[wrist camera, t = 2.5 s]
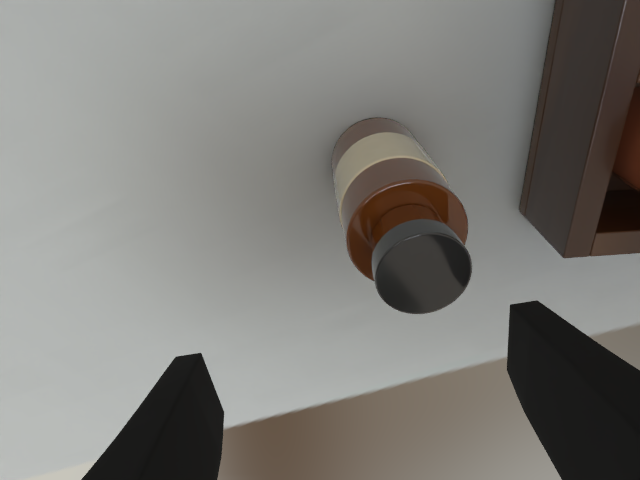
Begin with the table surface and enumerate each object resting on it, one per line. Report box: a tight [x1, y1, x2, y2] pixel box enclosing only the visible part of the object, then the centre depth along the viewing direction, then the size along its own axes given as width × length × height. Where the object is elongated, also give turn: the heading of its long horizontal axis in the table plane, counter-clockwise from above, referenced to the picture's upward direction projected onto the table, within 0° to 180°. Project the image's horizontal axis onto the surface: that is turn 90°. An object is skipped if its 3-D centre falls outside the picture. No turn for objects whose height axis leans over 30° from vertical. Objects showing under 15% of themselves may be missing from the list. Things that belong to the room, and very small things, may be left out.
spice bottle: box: [332, 118, 472, 314], centre depth 16 cm, size 4×4×8 cm
